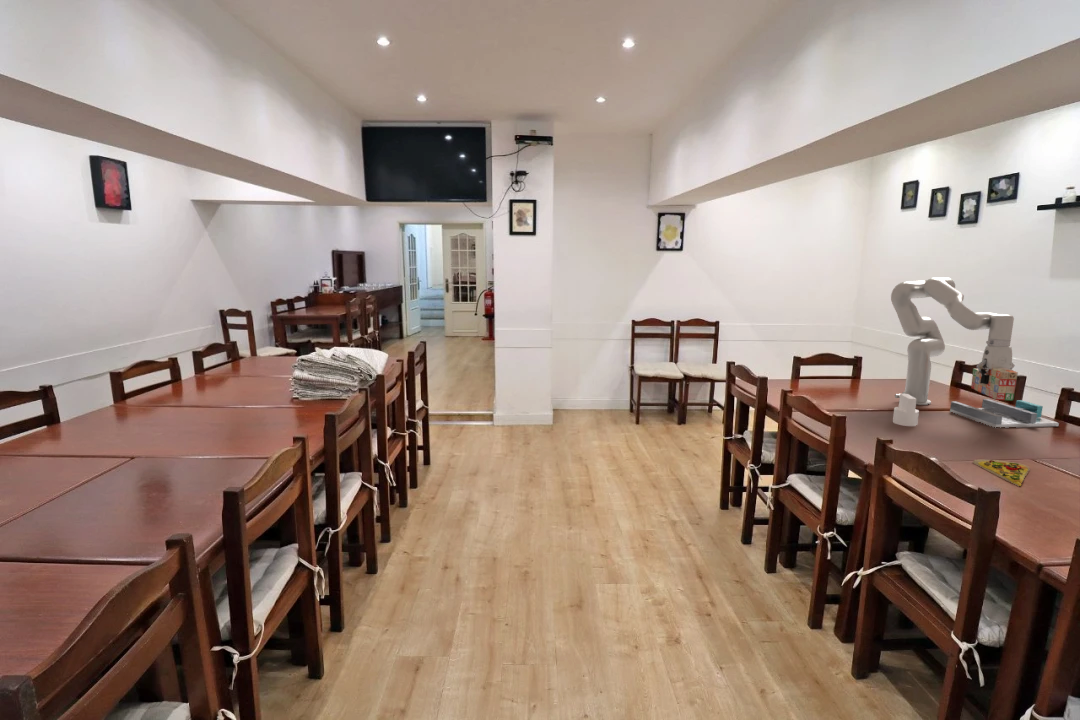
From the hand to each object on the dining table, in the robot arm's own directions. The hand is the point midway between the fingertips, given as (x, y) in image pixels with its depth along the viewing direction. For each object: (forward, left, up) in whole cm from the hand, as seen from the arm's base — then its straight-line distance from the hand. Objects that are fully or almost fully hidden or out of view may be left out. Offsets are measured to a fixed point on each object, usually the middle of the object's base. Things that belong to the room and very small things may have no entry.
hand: (993, 383), depth 240 cm
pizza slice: (-46, -59, -17) cm, 77 cm away
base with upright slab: (-39, -2, -17) cm, 43 cm away
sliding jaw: (+14, 0, -15) cm, 20 cm away
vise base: (+7, 0, -16) cm, 18 cm away
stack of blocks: (0, 0, -5) cm, 5 cm away
